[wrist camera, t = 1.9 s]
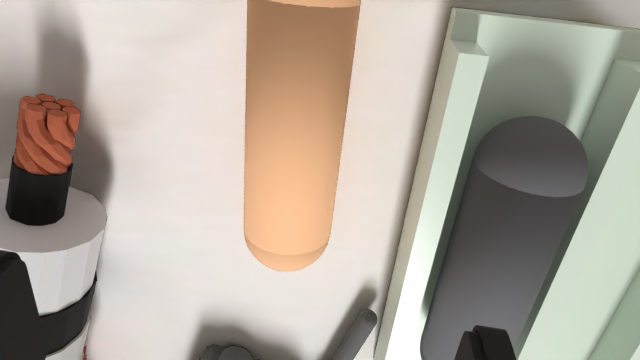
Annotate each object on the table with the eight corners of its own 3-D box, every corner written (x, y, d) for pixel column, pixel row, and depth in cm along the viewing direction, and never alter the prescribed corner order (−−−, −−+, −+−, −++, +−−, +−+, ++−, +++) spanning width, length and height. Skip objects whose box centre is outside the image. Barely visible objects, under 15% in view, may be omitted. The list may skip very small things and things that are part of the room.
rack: (452, 7, 18) (466, 21, 15) (942, 63, 17) (1055, 90, 14) (373, 359, 27) (373, 408, 25) (682, 405, 27) (718, 461, 24)
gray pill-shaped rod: (477, 94, 18) (502, 135, 15) (579, 107, 18) (629, 150, 14) (410, 341, 25) (415, 408, 21) (483, 352, 25) (501, 421, 21)
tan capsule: (262, -74, 17) (234, -74, 14) (369, -62, 17) (368, -60, 13) (253, 231, 24) (233, 283, 20) (329, 242, 24) (322, 296, 20)
